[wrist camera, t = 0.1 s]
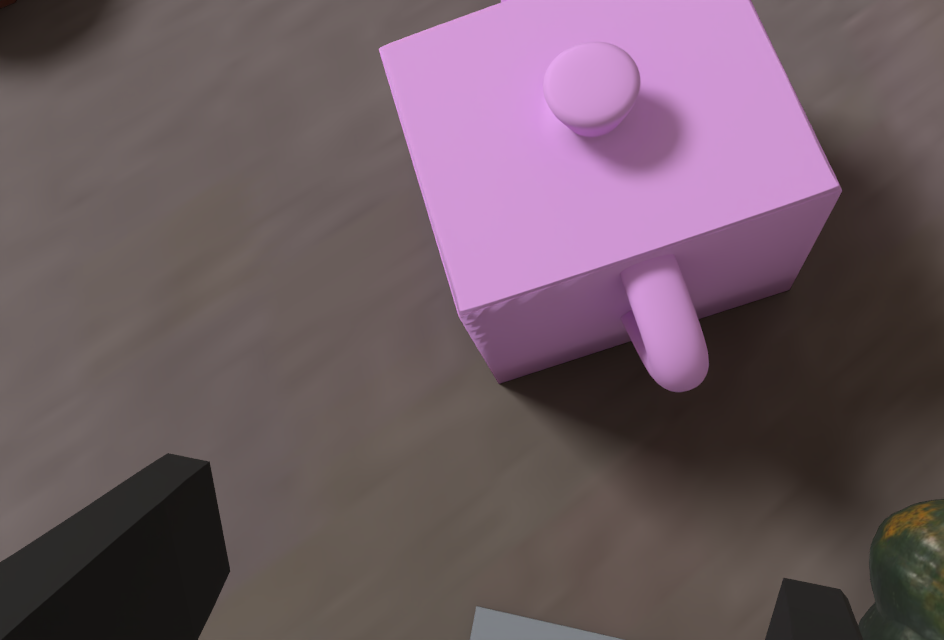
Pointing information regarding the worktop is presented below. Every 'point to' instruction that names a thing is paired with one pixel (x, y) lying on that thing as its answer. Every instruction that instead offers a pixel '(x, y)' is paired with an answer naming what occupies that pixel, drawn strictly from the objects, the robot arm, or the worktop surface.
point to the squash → (907, 576)
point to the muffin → (6, 2)
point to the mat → (524, 628)
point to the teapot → (608, 174)
